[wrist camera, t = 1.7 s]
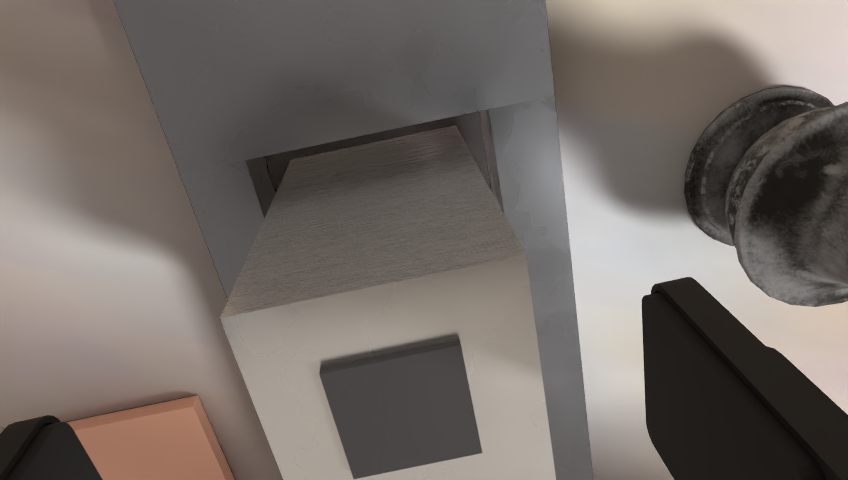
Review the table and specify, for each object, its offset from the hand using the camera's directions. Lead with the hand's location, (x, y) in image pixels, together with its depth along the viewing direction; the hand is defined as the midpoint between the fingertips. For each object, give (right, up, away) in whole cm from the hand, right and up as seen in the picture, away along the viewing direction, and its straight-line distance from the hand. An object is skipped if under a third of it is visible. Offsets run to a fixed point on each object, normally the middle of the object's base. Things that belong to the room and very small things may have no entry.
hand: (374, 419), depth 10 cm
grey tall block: (0, +4, +9) cm, 10 cm away
